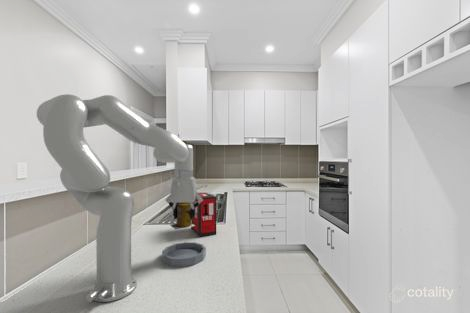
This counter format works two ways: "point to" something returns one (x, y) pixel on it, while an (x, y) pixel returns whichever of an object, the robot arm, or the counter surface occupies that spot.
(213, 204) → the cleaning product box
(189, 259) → the round tray
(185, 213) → the condiment
